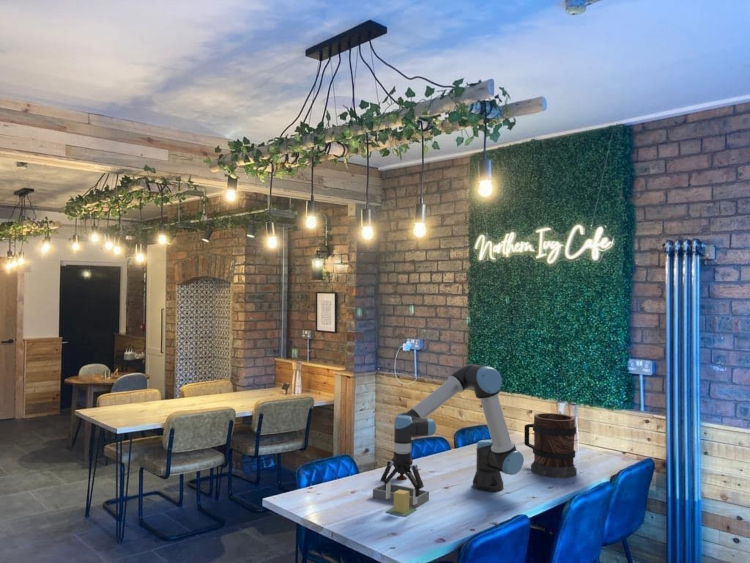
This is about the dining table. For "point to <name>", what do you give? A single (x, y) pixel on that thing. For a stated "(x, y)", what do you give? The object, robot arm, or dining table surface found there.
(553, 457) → the wooden beer tankard
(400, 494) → the mustard block
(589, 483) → the dining table surface
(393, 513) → the green pad
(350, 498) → the dining table surface
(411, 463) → the ice cream bowl
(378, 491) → the charcoal bin
